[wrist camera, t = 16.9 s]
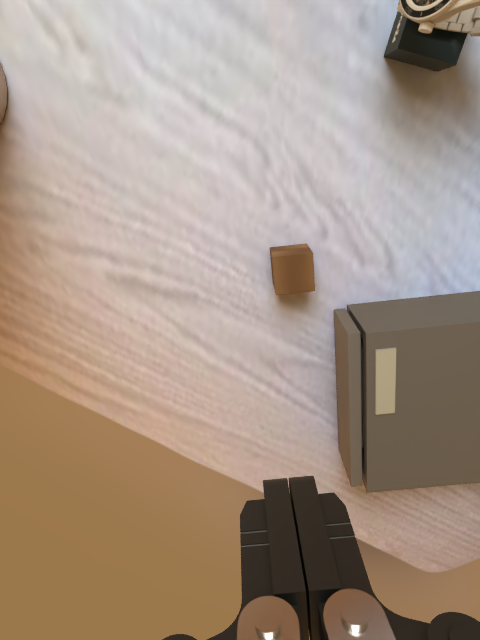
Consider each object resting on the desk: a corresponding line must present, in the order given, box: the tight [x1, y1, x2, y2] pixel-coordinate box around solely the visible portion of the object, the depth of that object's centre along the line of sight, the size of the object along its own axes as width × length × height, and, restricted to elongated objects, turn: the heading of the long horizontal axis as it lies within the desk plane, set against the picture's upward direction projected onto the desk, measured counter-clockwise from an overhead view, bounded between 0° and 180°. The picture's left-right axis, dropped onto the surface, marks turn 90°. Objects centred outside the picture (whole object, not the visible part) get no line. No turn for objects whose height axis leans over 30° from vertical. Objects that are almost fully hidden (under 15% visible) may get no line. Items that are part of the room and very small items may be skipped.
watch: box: [384, 0, 480, 71], centre depth 28 cm, size 6×8×11 cm
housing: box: [347, 291, 480, 493], centre depth 40 cm, size 18×16×7 cm
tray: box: [334, 309, 364, 487], centre depth 41 cm, size 18×16×6 cm
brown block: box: [270, 244, 315, 295], centre depth 38 cm, size 3×3×4 cm
